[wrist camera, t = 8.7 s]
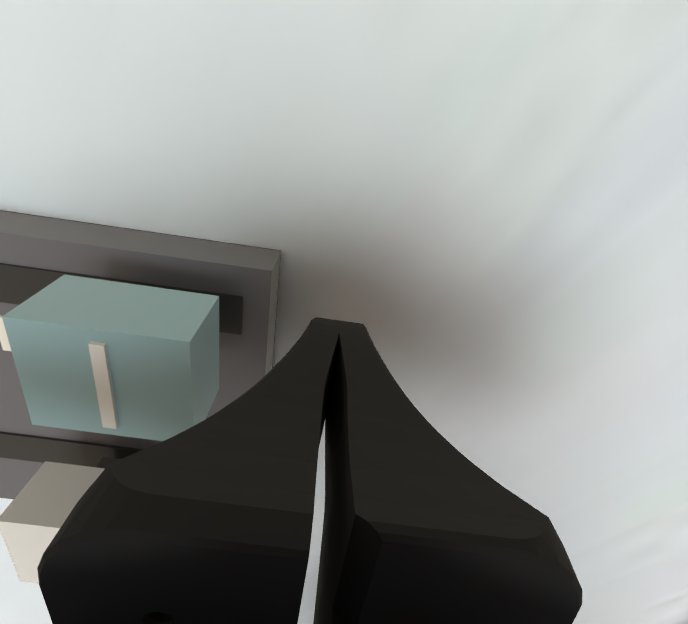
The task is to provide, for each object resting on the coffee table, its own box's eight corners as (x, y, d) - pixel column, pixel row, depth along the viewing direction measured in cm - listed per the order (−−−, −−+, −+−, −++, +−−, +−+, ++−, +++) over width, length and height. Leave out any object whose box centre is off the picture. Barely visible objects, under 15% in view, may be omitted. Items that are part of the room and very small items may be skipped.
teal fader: (230, 362, 13) (192, 448, 10) (106, 345, 12) (29, 427, 10) (232, 275, 11) (188, 344, 8) (92, 255, 11) (-3, 318, 8)
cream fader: (182, 501, 16) (141, 598, 13) (81, 489, 16) (17, 584, 13) (178, 446, 14) (132, 540, 11) (68, 432, 14) (-6, 524, 11)
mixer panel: (262, 495, 18) (254, 530, 17) (-67, 455, 18) (-104, 487, 16) (280, 250, 13) (271, 272, 12) (-188, 183, 12) (-259, 197, 11)
